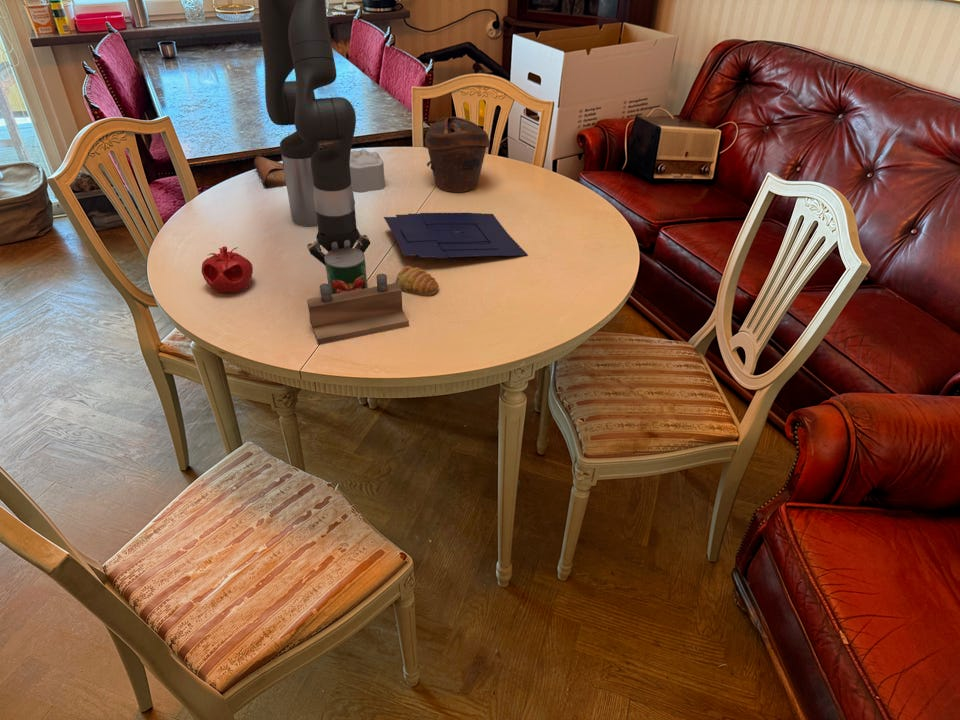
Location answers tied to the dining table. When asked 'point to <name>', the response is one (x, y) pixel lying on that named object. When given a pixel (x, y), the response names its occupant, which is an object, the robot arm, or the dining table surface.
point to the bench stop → (356, 311)
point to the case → (456, 153)
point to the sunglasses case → (270, 172)
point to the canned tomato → (346, 270)
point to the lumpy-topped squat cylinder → (366, 171)
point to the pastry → (416, 281)
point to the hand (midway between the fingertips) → (343, 281)
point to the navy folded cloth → (452, 235)
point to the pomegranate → (227, 271)
